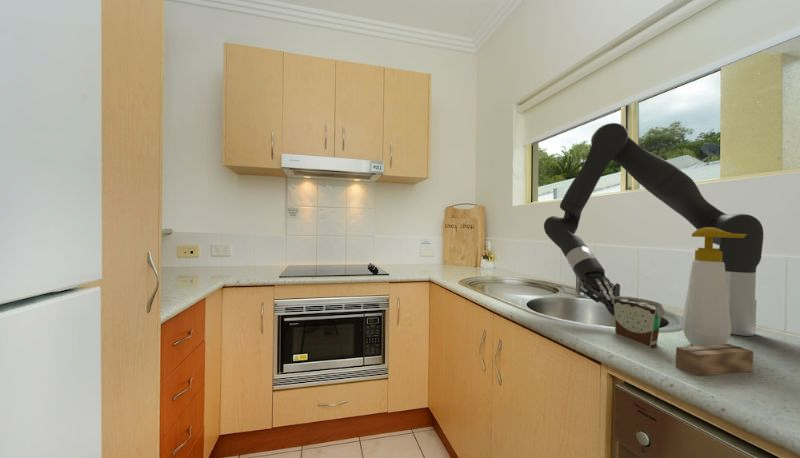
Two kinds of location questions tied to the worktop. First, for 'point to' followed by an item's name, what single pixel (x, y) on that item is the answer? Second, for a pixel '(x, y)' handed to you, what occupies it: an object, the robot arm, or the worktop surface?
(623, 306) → the food container
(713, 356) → the timber batten
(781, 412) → the worktop surface
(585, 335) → the worktop surface
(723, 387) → the worktop surface
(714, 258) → the soap bottle
